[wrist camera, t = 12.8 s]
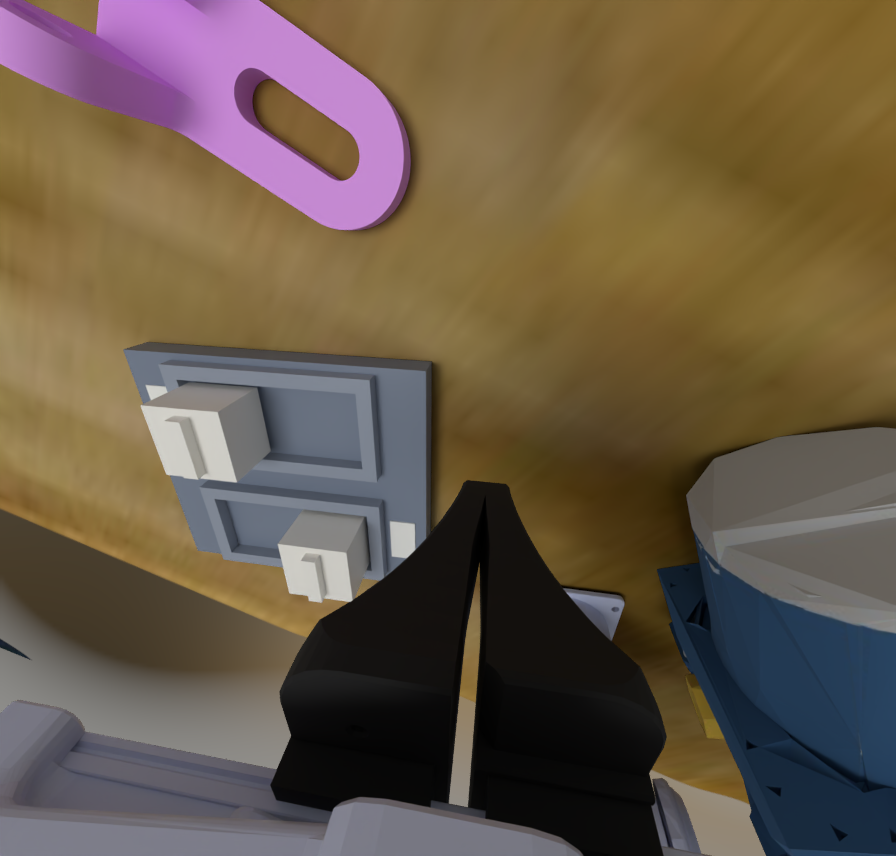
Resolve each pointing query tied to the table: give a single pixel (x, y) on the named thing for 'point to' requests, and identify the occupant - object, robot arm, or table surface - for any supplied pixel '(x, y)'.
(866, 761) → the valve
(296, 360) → the switch bank
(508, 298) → the table surface
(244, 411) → the near tab
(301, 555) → the far tab
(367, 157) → the bracket
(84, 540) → the table surface
